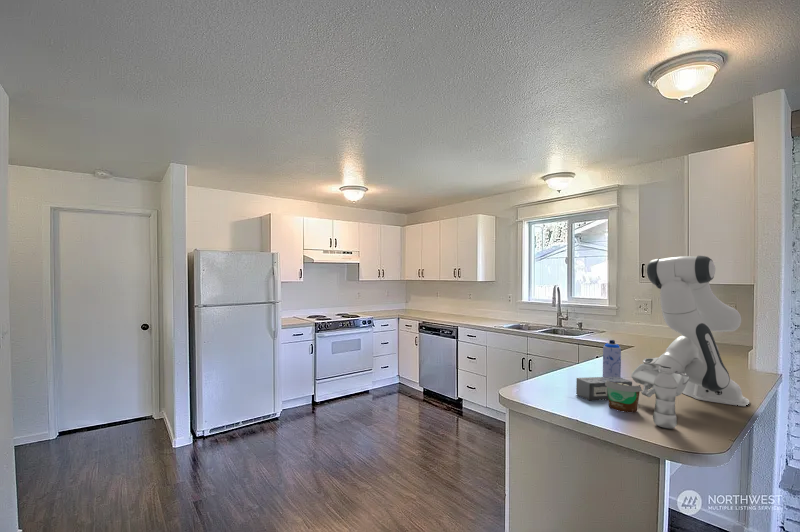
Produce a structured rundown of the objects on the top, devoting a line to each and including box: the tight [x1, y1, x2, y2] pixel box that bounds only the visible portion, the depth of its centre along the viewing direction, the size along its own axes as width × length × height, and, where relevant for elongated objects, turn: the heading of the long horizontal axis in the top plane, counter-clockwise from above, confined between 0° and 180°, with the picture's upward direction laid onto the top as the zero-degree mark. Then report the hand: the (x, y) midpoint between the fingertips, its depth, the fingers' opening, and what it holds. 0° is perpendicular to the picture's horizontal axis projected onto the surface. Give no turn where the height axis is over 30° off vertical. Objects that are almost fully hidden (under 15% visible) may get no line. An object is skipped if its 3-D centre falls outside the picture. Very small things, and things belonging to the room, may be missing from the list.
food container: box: [605, 380, 643, 413], centre depth 147 cm, size 12×6×10 cm, turn 47°
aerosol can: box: [602, 339, 622, 378], centre depth 184 cm, size 8×8×20 cm
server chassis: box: [575, 376, 633, 402], centre depth 162 cm, size 20×8×7 cm, turn 102°
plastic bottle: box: [652, 366, 678, 430], centre depth 131 cm, size 6×7×20 cm
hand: (645, 395), depth 149 cm, fingers closed
